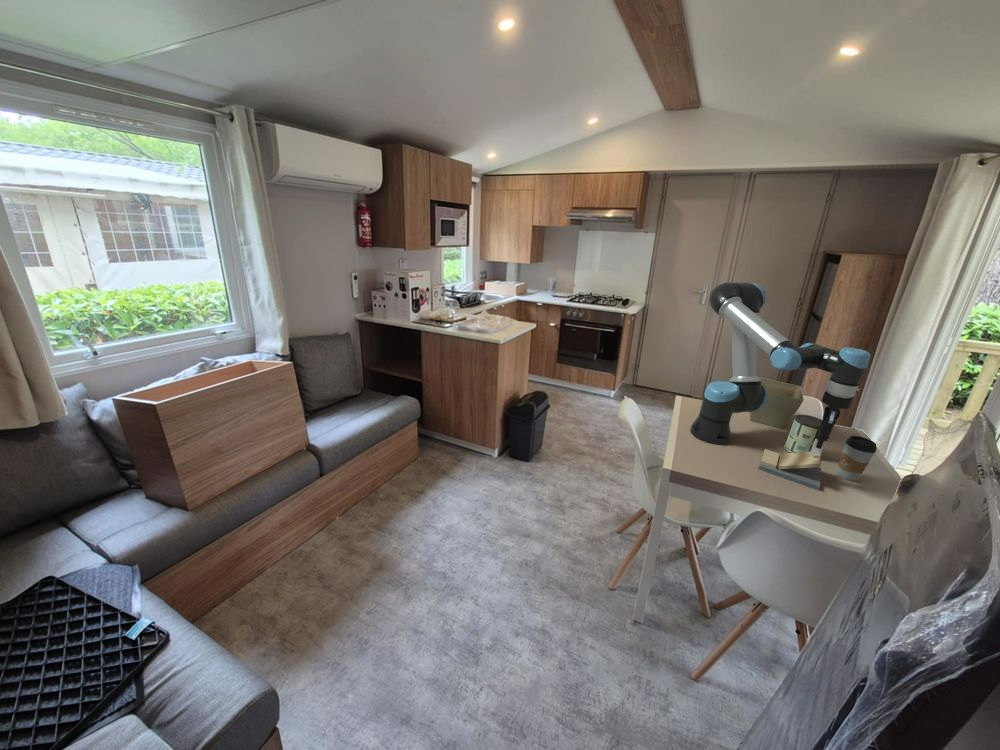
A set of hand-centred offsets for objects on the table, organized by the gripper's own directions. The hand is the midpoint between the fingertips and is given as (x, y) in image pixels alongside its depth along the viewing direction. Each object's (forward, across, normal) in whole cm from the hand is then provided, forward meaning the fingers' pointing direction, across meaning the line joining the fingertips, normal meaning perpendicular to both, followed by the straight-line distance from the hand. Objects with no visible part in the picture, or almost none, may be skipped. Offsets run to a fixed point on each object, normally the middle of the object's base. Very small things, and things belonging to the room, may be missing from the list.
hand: (814, 454), depth 138 cm
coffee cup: (+10, +11, -12) cm, 19 cm away
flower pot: (+9, +43, +17) cm, 47 cm away
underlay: (+9, 0, +5) cm, 11 cm away
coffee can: (+9, +20, +3) cm, 22 cm away
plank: (+5, 0, +3) cm, 5 cm away
